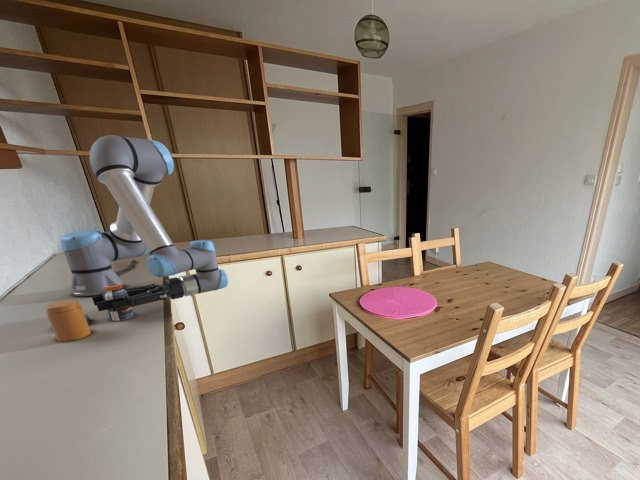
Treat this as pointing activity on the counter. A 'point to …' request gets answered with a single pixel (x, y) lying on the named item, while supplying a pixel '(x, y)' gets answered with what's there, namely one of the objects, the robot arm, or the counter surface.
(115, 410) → the counter surface
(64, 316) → the jar
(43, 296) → the counter surface
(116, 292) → the pill bottle
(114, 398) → the counter surface
